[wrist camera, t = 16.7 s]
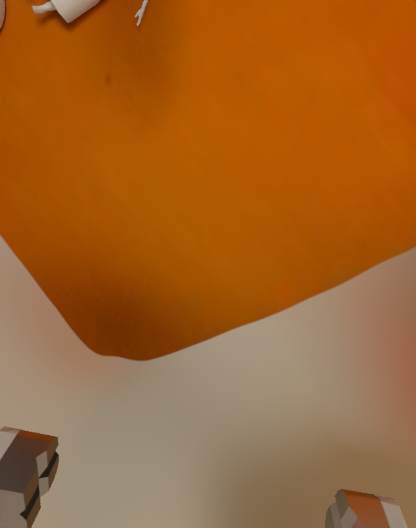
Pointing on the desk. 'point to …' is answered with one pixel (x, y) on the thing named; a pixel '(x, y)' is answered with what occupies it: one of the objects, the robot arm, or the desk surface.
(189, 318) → the desk surface
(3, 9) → the fruit juice
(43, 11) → the woman figurine
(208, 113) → the desk surface
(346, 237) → the desk surface
